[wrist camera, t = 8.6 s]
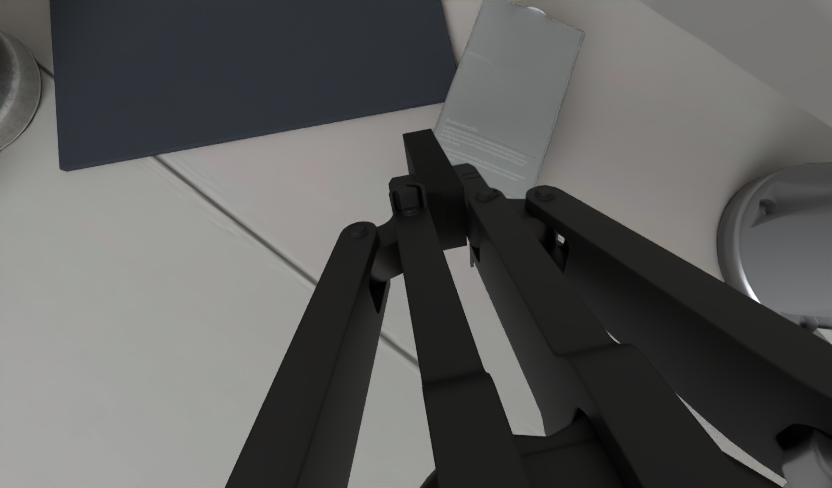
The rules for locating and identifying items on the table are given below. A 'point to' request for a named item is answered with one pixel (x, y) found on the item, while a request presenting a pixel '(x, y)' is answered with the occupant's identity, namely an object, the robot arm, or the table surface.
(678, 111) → the table surface
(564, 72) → the cosmetic box
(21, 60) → the webcam
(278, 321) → the table surface
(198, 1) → the mat
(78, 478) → the table surface
